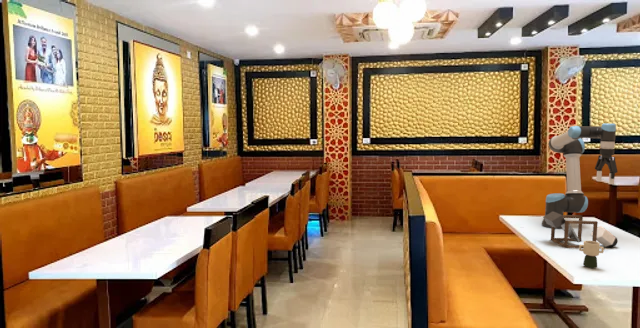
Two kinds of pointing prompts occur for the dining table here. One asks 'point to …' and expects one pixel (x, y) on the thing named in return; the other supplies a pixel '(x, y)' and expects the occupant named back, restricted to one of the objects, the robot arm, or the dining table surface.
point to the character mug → (591, 253)
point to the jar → (605, 237)
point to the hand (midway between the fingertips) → (604, 182)
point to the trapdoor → (560, 224)
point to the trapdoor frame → (580, 222)
